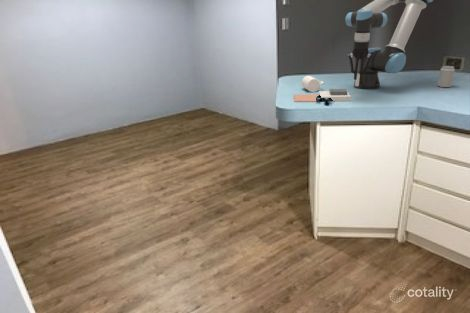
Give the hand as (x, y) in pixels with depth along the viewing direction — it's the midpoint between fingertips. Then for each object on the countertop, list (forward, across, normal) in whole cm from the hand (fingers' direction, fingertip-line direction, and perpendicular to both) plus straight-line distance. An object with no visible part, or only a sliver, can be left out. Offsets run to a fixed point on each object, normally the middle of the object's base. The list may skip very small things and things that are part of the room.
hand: (356, 85), depth 203 cm
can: (+6, +56, +25) cm, 62 cm away
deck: (+7, -12, 0) cm, 14 cm away
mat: (+7, -27, 0) cm, 28 cm away
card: (+5, -10, 0) cm, 11 cm away
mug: (+8, -22, +20) cm, 31 cm away
